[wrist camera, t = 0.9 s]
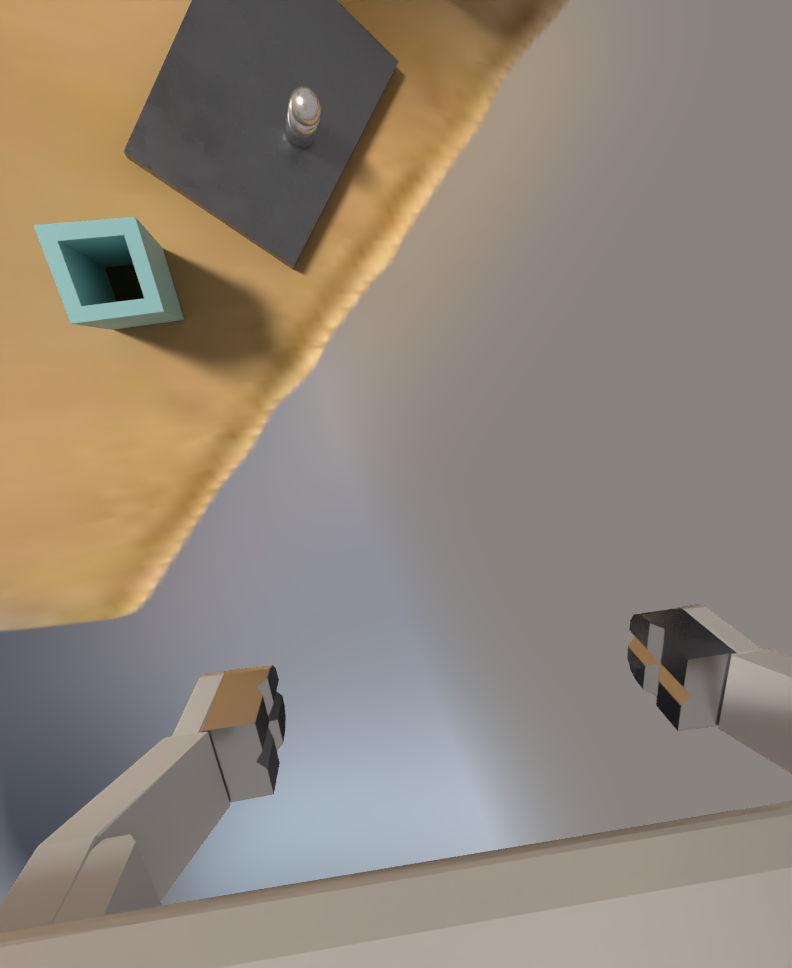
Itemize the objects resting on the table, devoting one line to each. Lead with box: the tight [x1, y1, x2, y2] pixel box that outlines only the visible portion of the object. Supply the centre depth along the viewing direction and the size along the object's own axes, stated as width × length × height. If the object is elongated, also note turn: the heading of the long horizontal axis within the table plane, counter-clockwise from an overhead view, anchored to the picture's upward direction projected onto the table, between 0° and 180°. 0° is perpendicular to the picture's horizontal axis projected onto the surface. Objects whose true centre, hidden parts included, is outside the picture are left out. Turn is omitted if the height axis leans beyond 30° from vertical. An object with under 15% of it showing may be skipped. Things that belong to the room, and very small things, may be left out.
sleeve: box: [34, 217, 184, 330], centre depth 34 cm, size 6×6×10 cm
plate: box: [124, 0, 399, 269], centre depth 35 cm, size 15×20×6 cm
